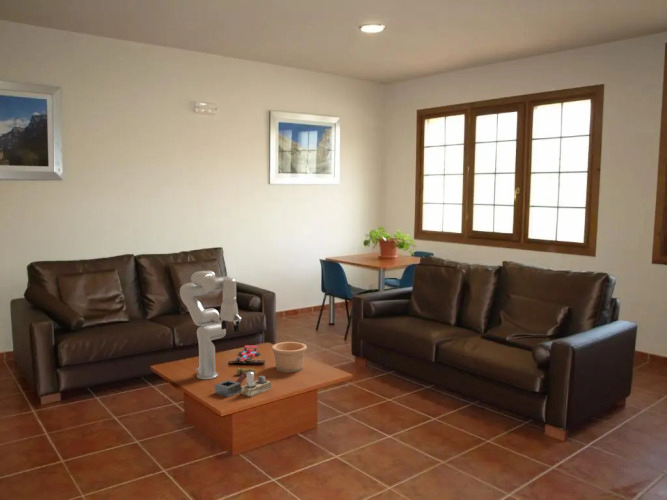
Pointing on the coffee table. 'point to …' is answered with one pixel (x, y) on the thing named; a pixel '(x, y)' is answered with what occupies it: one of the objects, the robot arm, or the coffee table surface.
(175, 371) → the coffee table surface
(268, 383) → the rack
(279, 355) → the pottery
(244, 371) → the gavel
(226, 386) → the socket
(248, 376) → the silver metal cylinder
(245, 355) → the race car
